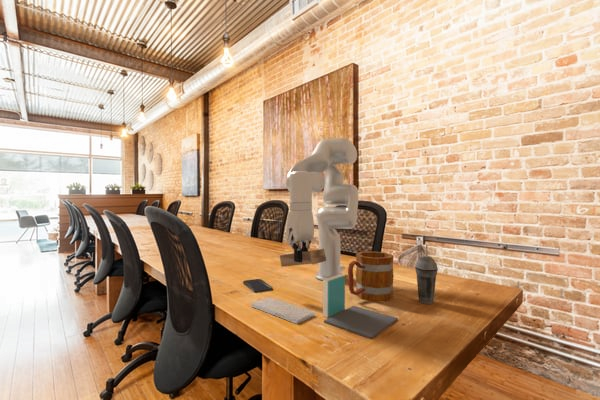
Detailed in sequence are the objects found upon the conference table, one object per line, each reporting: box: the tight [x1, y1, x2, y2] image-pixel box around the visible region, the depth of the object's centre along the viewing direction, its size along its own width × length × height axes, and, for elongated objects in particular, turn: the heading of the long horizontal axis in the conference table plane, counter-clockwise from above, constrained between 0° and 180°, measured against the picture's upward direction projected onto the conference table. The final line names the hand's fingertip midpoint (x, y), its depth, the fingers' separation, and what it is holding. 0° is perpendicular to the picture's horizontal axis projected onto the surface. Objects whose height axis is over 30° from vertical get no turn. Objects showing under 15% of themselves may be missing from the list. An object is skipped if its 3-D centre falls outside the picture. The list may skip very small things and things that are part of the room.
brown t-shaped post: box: [279, 249, 326, 267], centre depth 103 cm, size 6×17×4 cm, turn 48°
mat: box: [323, 305, 399, 340], centre depth 87 cm, size 16×15×1 cm
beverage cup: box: [414, 243, 439, 305], centre depth 103 cm, size 7×7×20 cm
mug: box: [347, 251, 395, 303], centre depth 107 cm, size 20×14×15 cm
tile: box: [322, 273, 346, 319], centre depth 93 cm, size 9×2×11 cm, turn 138°
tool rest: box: [251, 296, 316, 325], centre depth 94 cm, size 8×20×1 cm, turn 48°
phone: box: [242, 278, 274, 294], centre depth 120 cm, size 8×1×15 cm
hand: (301, 260), depth 102 cm, fingers closed on brown t-shaped post, 2 cm apart
